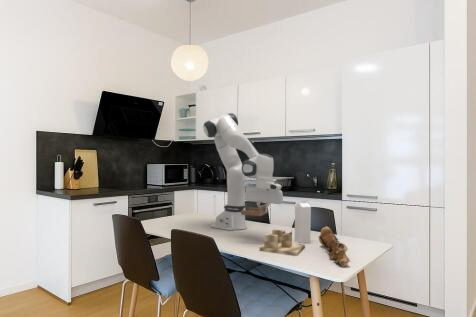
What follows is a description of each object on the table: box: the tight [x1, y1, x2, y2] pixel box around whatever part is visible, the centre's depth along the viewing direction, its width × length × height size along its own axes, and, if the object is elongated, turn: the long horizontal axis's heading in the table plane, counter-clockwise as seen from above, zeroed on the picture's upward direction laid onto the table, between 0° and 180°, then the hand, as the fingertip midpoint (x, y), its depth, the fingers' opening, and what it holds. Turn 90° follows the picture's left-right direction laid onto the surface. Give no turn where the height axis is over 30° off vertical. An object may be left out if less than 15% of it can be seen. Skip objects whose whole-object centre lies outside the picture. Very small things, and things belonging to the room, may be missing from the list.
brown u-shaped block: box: [241, 203, 269, 217], centre depth 173 cm, size 10×13×4 cm
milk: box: [294, 199, 312, 244], centre depth 174 cm, size 6×6×22 cm
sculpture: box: [318, 226, 350, 267], centre depth 150 cm, size 9×14×35 cm
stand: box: [259, 228, 306, 257], centre depth 158 cm, size 18×16×8 cm
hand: (262, 211), depth 171 cm, fingers closed on brown u-shaped block
